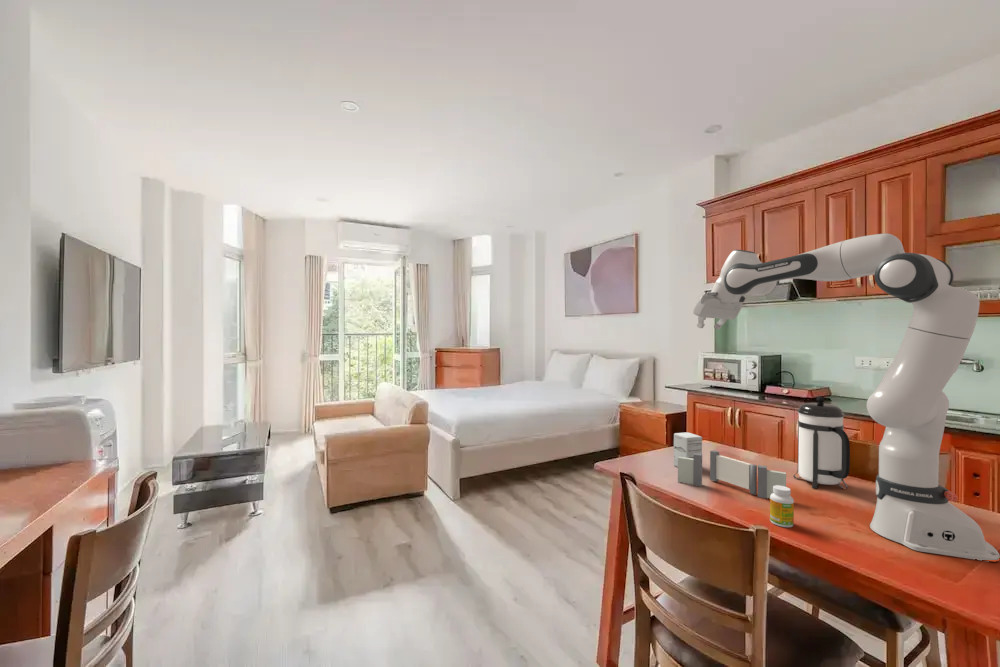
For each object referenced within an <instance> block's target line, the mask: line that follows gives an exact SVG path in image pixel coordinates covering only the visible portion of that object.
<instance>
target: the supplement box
mask: <svg viewBox="0 0 1000 667" xmlns="http://www.w3.org/2000/svg"><path fill="white" fill-rule="evenodd" d="M694 453H700V454H702V455H703V436H700V435H698V434H695V433H691V432H689V431H688V432H675V433H673V466H674V467H677V468H678V457H686V458H692V459H694Z"/></svg>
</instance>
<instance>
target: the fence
mask: <svg viewBox="0 0 1000 667" xmlns="http://www.w3.org/2000/svg"><path fill="white" fill-rule="evenodd" d="M680 482H683V483H682V484H685V483H688V484H687V485H691V484H693V485H692V486H694V485H697V486H696V487H700V486H701V485H702V486H703V453H702V454H700V453H694V459H692V458H686V457H678V467H677V483H680ZM775 485H780V486H785V487H787V472H784V471H777V470H772V469H768V466H767V465H761V464H758V465H757V498H761V499H766V498H767V499H768V498H769V500H770V495H771V494H772V493H774V492H773V486H775ZM702 486H701V487H702Z"/></svg>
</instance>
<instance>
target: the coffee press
mask: <svg viewBox="0 0 1000 667" xmlns="http://www.w3.org/2000/svg"><path fill="white" fill-rule="evenodd" d="M815 400H816V402H805V403H803V404H801V405H800V406H799V408H798V409H797V413H798V419H797V426H798V427H797V470H796V472H795V474H794V475H793V478H794V479H795V478H797V479H796V480H799V479H801V478H802V479H803V480H805V481H808V482H811V488H812V489H814V488H815V489H814V490H818V489H817V488H819V484H820V485H829V486H831V485H832V486H833V485H836V486H838V487H840V488H841V489H842V488H844V487H843V485H844V486H845V488H846V490H847V489H848V487H849V486H848V485H847V483H846V482H845V480H844V479H846V478H847V477H849V474H850V469H851V468H850V467H851V463H850V462H851V451H850V450H851V448H850V447H851V446H850V445H851V444H850V440H849V437H848V434H847V433H846V431H845V429H844V425H845V424H844V421H843V420H844V417H845V413H844V412H843V411H842V409H841V408H840V407H839V406H837V405H834V404H830V403H824V402H825V398H824V397H823V396H820V395H819V396H817V397H816V398H815ZM796 474H798V475H799V477H797V476H796ZM841 483H843V485H841Z"/></svg>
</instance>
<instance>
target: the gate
mask: <svg viewBox="0 0 1000 667" xmlns="http://www.w3.org/2000/svg"><path fill="white" fill-rule="evenodd" d="M709 452H710V455H709V456H710V457H709V462H710V463H709V464H710V465H709V480H710V481H713V482H719V481H723V482H726V483H729V484H732V485H733V486H737V487H740V488H743V489H746V490H749V494H751V495H758V465H757V464H753V463H748V462H746V461H742V460H738V459H735V458H732V457H728V456H725V455H721V454H720V451H718V450H714V449H713V450H710V451H709Z"/></svg>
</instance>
